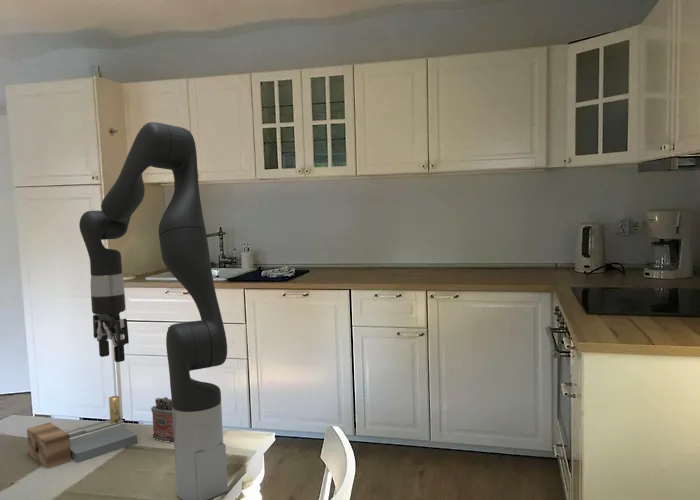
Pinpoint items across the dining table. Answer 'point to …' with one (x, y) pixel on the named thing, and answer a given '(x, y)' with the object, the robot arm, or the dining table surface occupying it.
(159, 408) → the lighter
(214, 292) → the robot arm
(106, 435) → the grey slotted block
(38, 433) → the jamb keeper
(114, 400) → the bolt
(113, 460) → the dining table surface
